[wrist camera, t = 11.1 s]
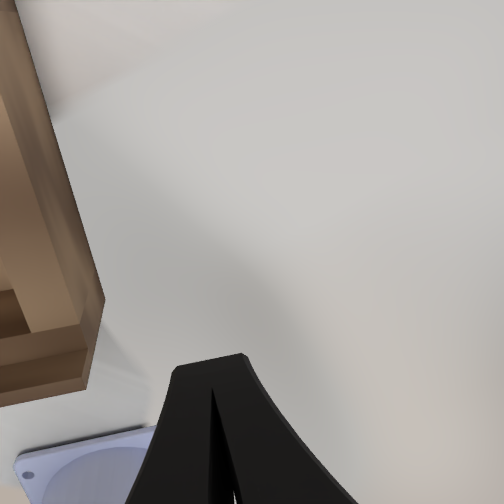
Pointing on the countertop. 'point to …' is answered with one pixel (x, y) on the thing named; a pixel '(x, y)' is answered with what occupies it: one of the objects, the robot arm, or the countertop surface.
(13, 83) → the walnut box
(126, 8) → the countertop surface
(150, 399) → the countertop surface
